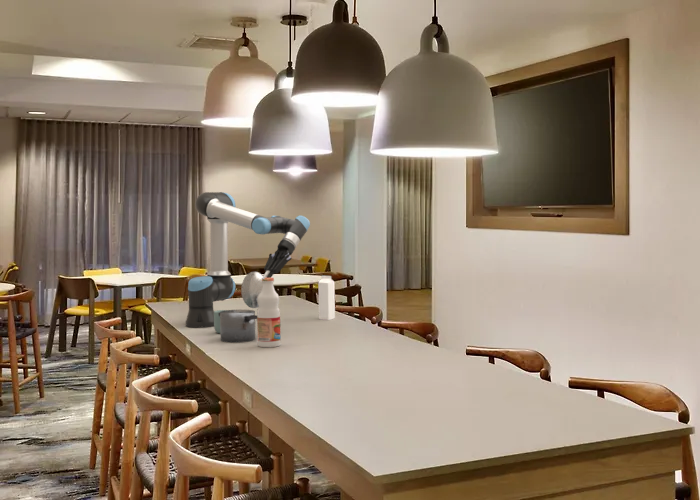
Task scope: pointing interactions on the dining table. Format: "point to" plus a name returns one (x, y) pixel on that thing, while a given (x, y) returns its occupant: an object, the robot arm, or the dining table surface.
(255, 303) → the lid
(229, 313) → the cooker pot
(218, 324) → the cup
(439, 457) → the dining table surface
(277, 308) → the fruit juice
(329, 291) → the milk
